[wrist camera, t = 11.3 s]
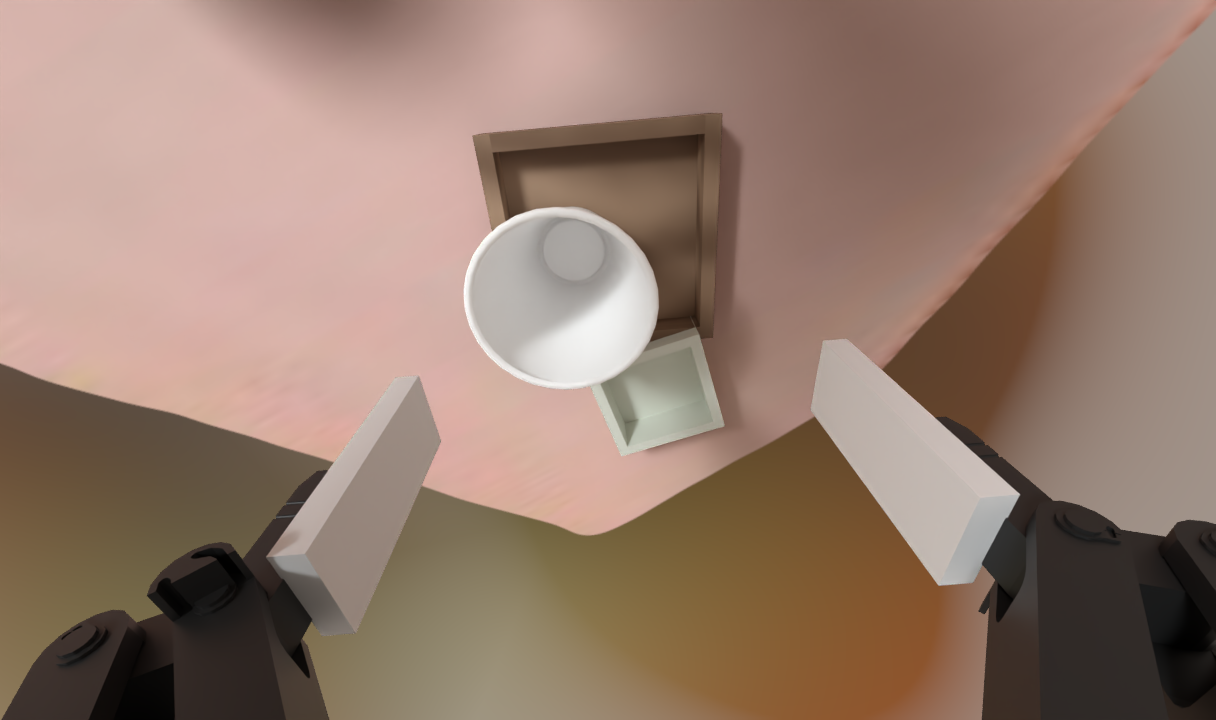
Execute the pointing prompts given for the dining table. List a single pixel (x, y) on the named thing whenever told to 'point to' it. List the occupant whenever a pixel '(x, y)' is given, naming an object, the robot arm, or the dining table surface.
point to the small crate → (661, 395)
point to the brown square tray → (625, 195)
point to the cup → (561, 298)
